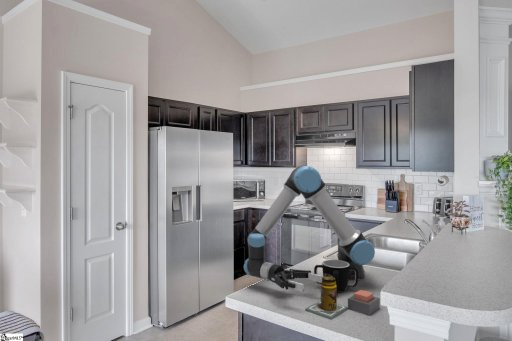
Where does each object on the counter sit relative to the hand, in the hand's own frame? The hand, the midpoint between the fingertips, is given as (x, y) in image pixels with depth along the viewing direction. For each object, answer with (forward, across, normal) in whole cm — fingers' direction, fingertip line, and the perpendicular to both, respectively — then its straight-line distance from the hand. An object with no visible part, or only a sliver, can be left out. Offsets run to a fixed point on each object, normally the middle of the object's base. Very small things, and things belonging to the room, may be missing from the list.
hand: (312, 283), depth 139 cm
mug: (-2, -22, -9) cm, 24 cm away
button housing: (+17, -11, -9) cm, 22 cm away
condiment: (+7, 0, -8) cm, 11 cm away
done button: (+17, -11, -6) cm, 21 cm away
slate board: (+7, 0, -9) cm, 11 cm away
